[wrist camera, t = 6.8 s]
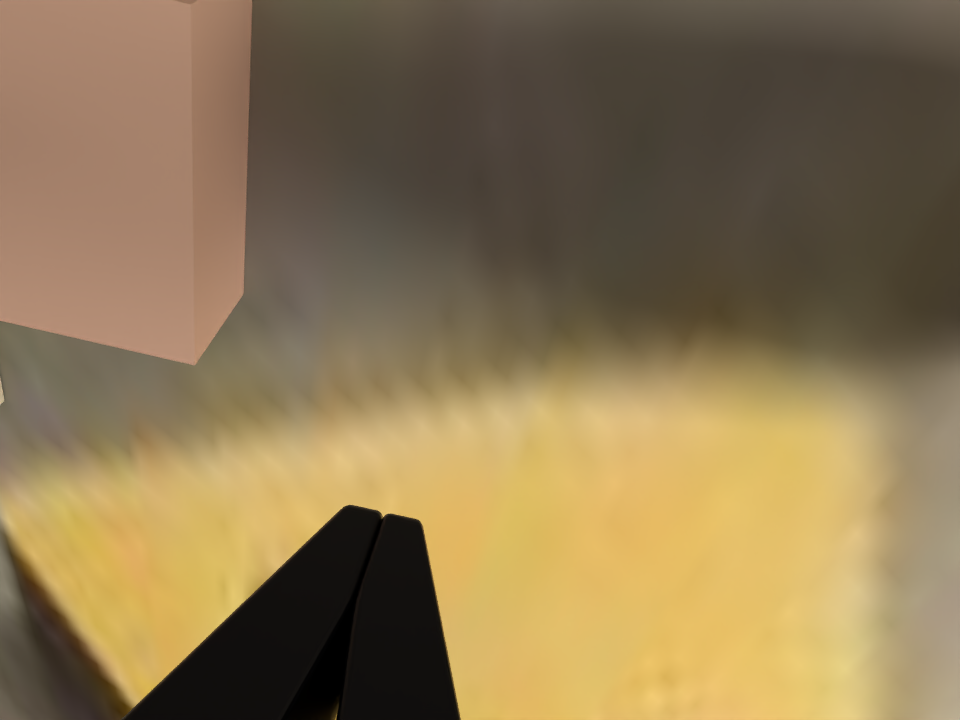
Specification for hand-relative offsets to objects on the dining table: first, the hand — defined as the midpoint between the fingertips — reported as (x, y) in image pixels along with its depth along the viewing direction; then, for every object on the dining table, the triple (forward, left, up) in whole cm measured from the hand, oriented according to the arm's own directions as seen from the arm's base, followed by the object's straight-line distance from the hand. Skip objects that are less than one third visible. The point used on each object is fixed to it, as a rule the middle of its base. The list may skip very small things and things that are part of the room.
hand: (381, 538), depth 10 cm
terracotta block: (+9, +2, -12) cm, 15 cm away
